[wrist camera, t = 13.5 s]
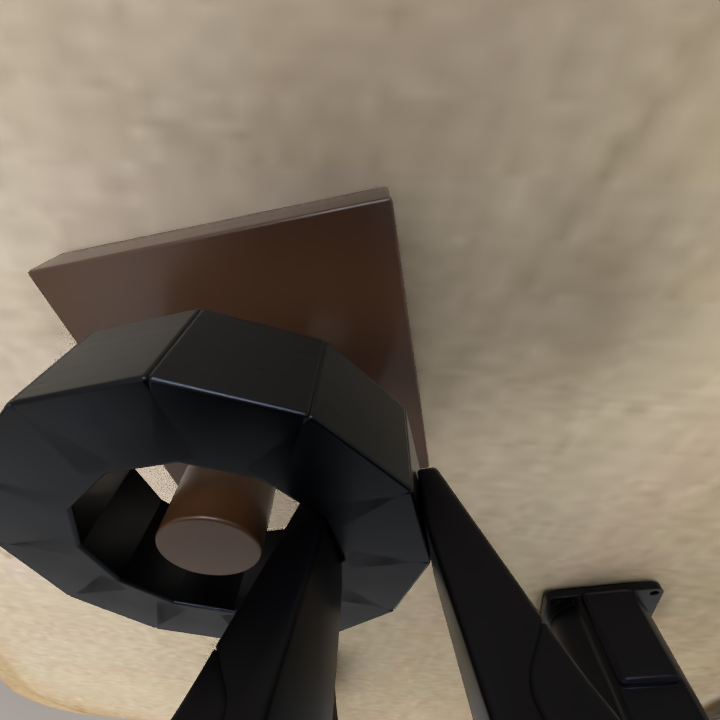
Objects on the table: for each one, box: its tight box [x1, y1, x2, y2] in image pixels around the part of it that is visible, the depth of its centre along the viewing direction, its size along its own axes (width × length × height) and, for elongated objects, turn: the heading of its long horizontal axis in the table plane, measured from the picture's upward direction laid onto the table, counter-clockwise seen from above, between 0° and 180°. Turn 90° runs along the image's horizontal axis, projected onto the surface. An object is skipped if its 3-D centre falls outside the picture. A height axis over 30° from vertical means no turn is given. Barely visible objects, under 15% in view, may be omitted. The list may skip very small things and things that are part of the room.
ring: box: [0, 309, 431, 638], centre depth 9 cm, size 9×9×2 cm
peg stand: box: [28, 187, 429, 575], centre depth 11 cm, size 10×10×7 cm
